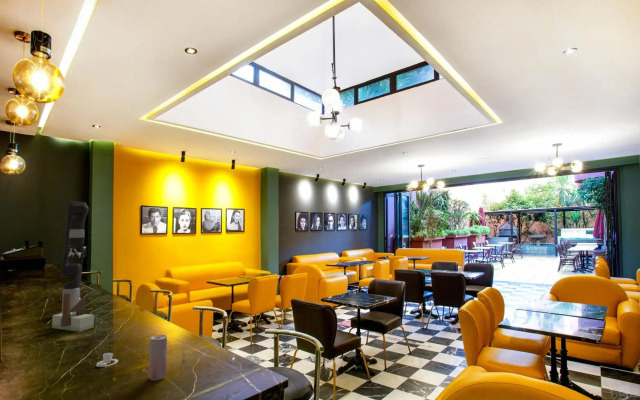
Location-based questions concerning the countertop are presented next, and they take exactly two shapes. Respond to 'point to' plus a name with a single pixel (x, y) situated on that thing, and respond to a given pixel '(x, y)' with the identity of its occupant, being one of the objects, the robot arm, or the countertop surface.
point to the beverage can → (157, 357)
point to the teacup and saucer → (106, 360)
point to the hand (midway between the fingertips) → (75, 263)
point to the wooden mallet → (78, 308)
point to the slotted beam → (74, 322)
